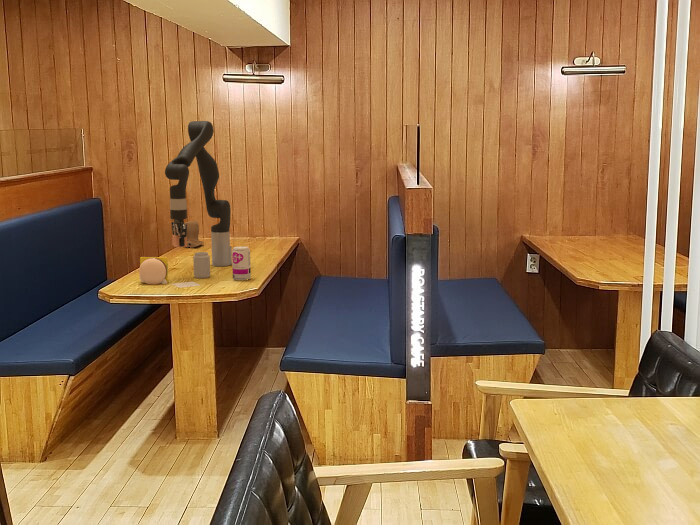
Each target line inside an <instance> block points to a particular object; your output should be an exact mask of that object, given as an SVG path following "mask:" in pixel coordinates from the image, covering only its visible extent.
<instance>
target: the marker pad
mask: <svg viewBox="0 0 700 525" xmlns="http://www.w3.org/2000/svg"><path fill="white" fill-rule="evenodd" d="M171 285H173V286H175V287H177V288H179V289H180V288H181V289H182V288H191V287H199V286H201V284H199V283H197V282H195V281H187V282H178V283H177V282H176V283H171Z"/></svg>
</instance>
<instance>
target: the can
mask: <svg viewBox="0 0 700 525" xmlns="http://www.w3.org/2000/svg"><path fill="white" fill-rule="evenodd" d="M192 258H193V277H194V278H195V279H206V278H207V279H209V278H210V277H211V257H210V255H209V253H208V251H207V252H206V251H197V252H194V255H193V256H192Z"/></svg>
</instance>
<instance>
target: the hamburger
mask: <svg viewBox="0 0 700 525" xmlns="http://www.w3.org/2000/svg"><path fill="white" fill-rule="evenodd" d="M139 263H140V266H139V268H138V269H139V270H138V274H139V280H140V283H142V284H143V283H145V284H147V285H159V284H161V285H162V284H163V285H165V284H166V285H167V284H168V283H169V269H168V268H169V266H168V257H167V256H159V257H158V256H148V257H147V256H141V257H139Z"/></svg>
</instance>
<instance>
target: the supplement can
mask: <svg viewBox="0 0 700 525" xmlns="http://www.w3.org/2000/svg"><path fill="white" fill-rule="evenodd" d="M251 269H252V268H251V250H250V247H249V246H245V245H244V246H240V245H239V246H234V247H233V248H232V279H233V280H234V281H236V280H246V281H248V280H247V279H249V280H250V279H251V277H252V275H251V274H252V273H251Z"/></svg>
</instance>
